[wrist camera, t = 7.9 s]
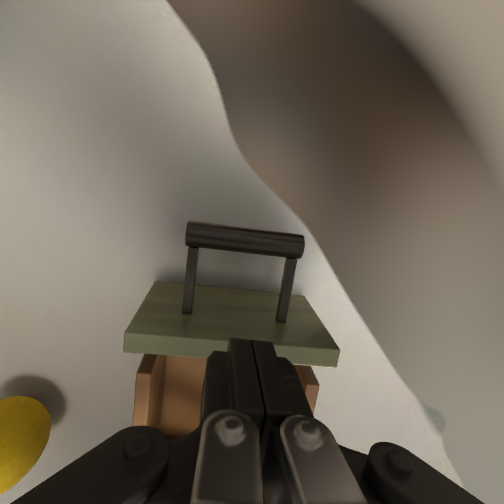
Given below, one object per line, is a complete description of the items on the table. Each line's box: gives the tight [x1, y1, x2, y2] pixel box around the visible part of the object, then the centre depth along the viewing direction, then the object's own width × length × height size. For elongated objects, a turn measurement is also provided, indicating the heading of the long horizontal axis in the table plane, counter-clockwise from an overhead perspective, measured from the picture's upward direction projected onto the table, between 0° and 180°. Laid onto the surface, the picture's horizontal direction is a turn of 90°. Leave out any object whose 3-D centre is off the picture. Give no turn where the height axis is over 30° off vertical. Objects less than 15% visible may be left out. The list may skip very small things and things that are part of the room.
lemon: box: [0, 396, 51, 494], centre depth 24 cm, size 6×6×8 cm
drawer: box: [123, 221, 340, 501], centre depth 23 cm, size 21×12×8 cm, turn 172°
